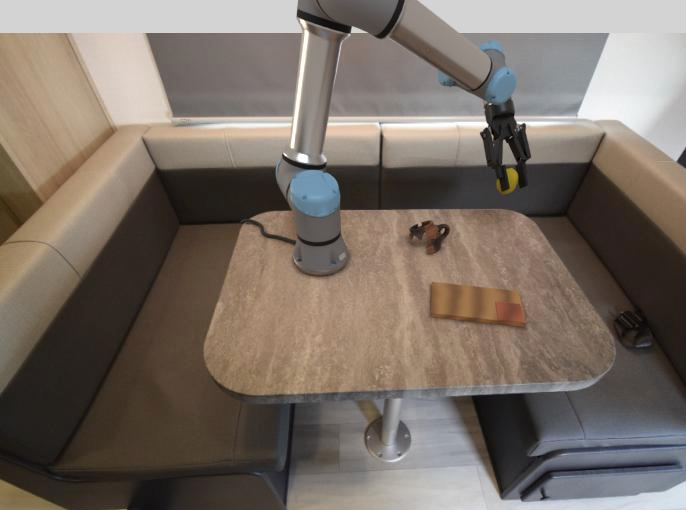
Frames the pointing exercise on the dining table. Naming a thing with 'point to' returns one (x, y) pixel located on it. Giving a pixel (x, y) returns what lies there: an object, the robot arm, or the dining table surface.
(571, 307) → the dining table surface
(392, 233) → the dining table surface
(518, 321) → the board
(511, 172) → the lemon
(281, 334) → the dining table surface
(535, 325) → the dining table surface
